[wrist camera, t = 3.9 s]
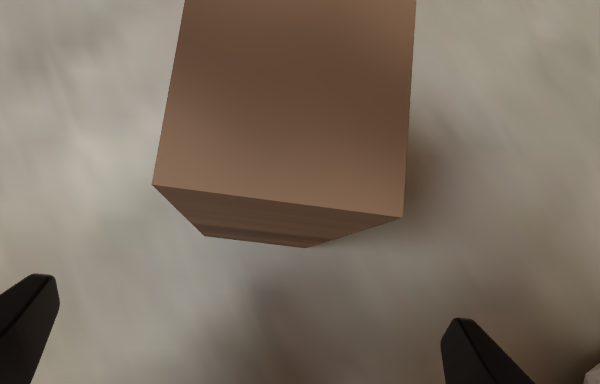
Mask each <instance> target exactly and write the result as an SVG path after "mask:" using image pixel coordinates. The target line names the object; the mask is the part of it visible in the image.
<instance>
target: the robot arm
mask: <svg viewBox="0 0 600 384" xmlns="http://www.w3.org/2000/svg"><path fill="white" fill-rule="evenodd" d="M59 306H60V299H59V294H58V290H57V285H56V280H55V278H54V277H53V276H52V275H46V274H31V275H29V276H27V277H26V278H24V279H23V280H21V281H20V282H18V283H17V284H15V285H14V286H12V287H11V288H9V289H8V290H6V291H5V292H3V293H2V294H0V384H30V383H31V381H32V378H33V376H34V374H35V371H36V369H37V366H38V363H39V361H40V358H41V356H42V353H43V350H44V348H45V345H46V342H47V340H48V337H49V335H50V332H51V329H52V327H53V324H54V321H55V319H56V316H57V314H58V311H59ZM441 354H442V361H443V367H444V374H445V381H446V384H535V383H534V382H533V381H532V380H531V379H530V378H529V377H528V376H527V375H526V374H525V372H524V371H523V370H522V369H521V368H520V367H519V366H518V365H517V364H516V363H515V362H514V361H513V360H512V359H511V358H510V357H509V356H508V355H507V354H506V353H505V352H504V351H503V350H502V349H501V348H500V347H499V346H498V345H497V344H496V343H495V342H494V341H493V340H492V339H491V338H490V337H489V336H488V335H487V334H486V333H485V331H484V330H483V329H482V328H481V327H480V326H479V325H478V324H477V323H476V322H475V321H473V320H472V319H467V318H454V319H453V320H452V322H451V323H450V325H449V327H448V328H447V330H446V332H445V333H444V335H443V337H442V339H441Z"/></svg>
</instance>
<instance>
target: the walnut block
mask: <svg viewBox="0 0 600 384" xmlns="http://www.w3.org/2000/svg"><path fill="white" fill-rule="evenodd" d="M415 13H416V0H185V3H184V9H183V14H182V20H181V26H180V31H179V37H178V42H177V48H176V53H175V59H174V64H173V70H172V75H171V81H170V86H169V92H168V98H167V103H166V109H165V114H164V120H163V125H162V131H161V136H160V142H159V147H158V153H157V159H156V164H155V170H154V175H153V181H152V185H153V186H154V187H155V188H156V189H157V190H158V191H159V192H160V193H161V194H162V195H163V196H164V197H165V198H166V199H167V200H168V201H169V202H170V203H171V204H172V205H173V206H174V207H175V208H176V209H177V210H178V211H179V212H180V213H181V214H182V215H183V216H184V217H185V218H186V219H187V220H188V221H189V222H191V223H192V224H193V225H194V226H195V227H196V228H197V229H198V230H199V231H200V232H201V233H202V234H203V235H204V236H208V237H217V238H225V239H233V240H242V241H250V242H259V243H267V244H275V245H284V246H292V247H301V248H306V247H310V246H313V245H316V244H319V243H323V242H326V241H329V240H332V239H335V238H339V237H342V236H345V235H348V234H352V233H355V232H358V231H361V230H364V229H368V228H371V227H374V226H377V225H381V224H384V223H387V222H390V221H393V220H397V219H400V218H403V206H404V190H405V174H406V158H407V142H408V126H409V110H410V94H411V78H412V61H413V45H414V29H415Z"/></svg>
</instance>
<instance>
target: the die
mask: <svg viewBox="0 0 600 384" xmlns="http://www.w3.org/2000/svg"><path fill="white" fill-rule="evenodd" d="M583 384H600V363H599V364H598V365H596V366H595V367H594V368H592V369H591V370H590V371H588V372H587V373H586V374H585V379H584V383H583Z"/></svg>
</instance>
